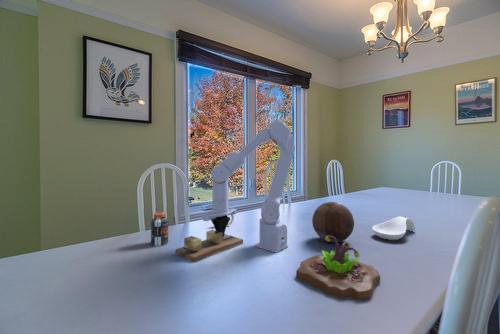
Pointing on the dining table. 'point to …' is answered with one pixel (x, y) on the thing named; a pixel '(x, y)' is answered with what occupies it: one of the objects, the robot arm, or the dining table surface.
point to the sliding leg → (214, 236)
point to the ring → (231, 220)
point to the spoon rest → (394, 228)
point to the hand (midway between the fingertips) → (220, 237)
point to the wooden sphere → (333, 221)
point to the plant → (339, 273)
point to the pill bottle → (159, 229)
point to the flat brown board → (206, 247)
